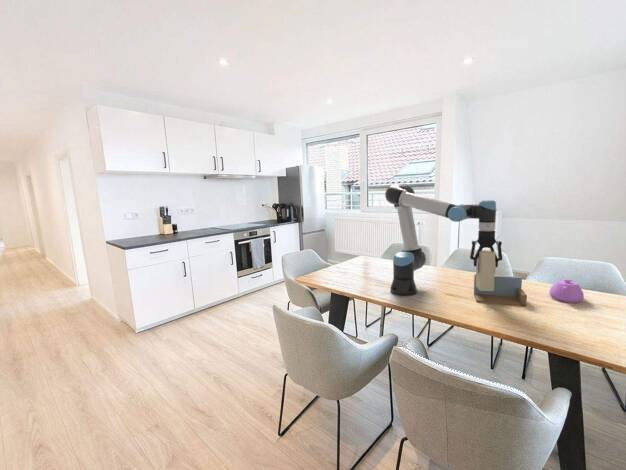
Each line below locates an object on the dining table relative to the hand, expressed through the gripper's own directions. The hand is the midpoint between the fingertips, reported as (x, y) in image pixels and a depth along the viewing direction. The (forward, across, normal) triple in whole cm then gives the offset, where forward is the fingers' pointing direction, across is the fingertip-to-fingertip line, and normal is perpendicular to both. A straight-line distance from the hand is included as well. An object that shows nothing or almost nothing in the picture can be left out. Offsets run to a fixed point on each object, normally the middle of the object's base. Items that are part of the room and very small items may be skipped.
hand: (485, 272), depth 156 cm
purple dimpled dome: (+16, +40, +13) cm, 45 cm away
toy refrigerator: (+9, 0, 0) cm, 9 cm away
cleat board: (+15, +7, +1) cm, 17 cm away
